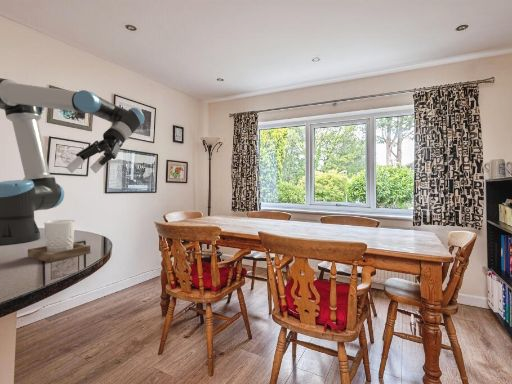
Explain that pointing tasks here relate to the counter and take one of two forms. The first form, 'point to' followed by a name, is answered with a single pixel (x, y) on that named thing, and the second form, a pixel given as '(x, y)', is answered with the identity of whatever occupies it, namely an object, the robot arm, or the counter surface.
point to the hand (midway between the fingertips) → (80, 170)
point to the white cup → (59, 235)
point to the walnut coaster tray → (58, 253)
